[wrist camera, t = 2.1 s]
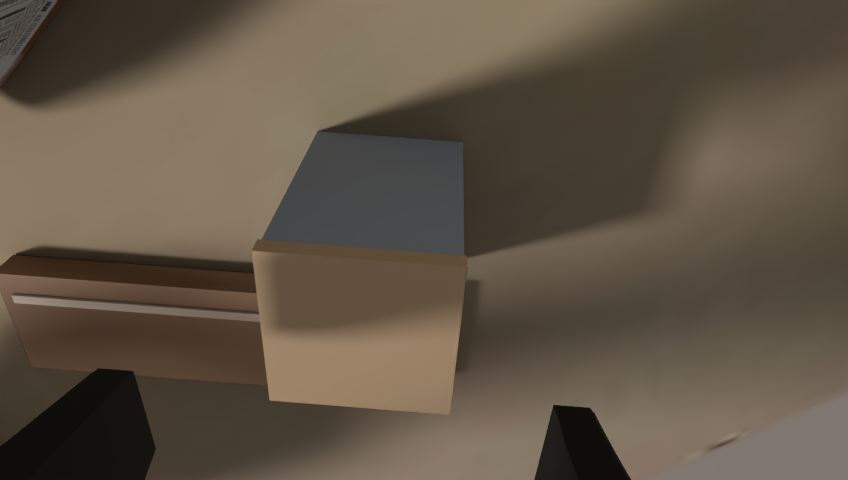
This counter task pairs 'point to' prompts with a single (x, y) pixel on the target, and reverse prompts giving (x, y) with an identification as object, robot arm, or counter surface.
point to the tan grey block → (365, 275)
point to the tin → (21, 29)
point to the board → (136, 319)
